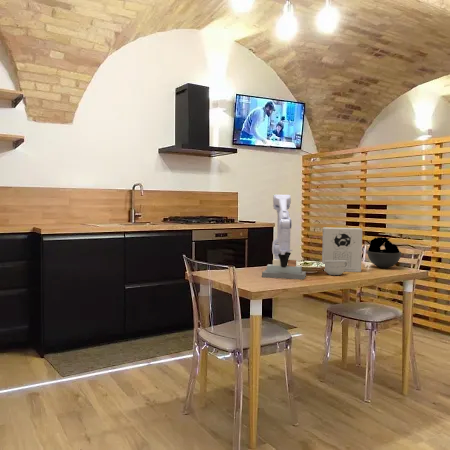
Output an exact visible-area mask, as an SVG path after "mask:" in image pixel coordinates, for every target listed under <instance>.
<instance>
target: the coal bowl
mask: <svg viewBox="0 0 450 450" xmlns="http://www.w3.org/2000/svg"><path fill="white" fill-rule="evenodd" d="M390 239H391V238H390V237H386V236H384V237H383V236H378V237H374V238H373V239H371V240H370V244H369V246H368V249H367V251H366V254H367V256H368V259H369V261H370V262H371V263H372V264H373V265H374V266H376V267H379V268H382V269H385V268H387V269H389V268H391V267H393V266H395V265H397V264H398V262H399V260H400V259H401V257H402V251H400V249H399V248H398V246H397V244H396V243H395V244H394V243H392V241H390ZM382 246H384V249H381V248H382Z"/></svg>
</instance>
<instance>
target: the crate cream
mask: <svg viewBox="0 0 450 450" xmlns="http://www.w3.org/2000/svg"><path fill="white" fill-rule="evenodd" d="M272 264H273V266H281V262H280V259H275V258H274V259H272Z"/></svg>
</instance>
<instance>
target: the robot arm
mask: <svg viewBox="0 0 450 450" xmlns="http://www.w3.org/2000/svg"><path fill="white" fill-rule="evenodd" d="M291 196H292V195H291V194H275V193H274V194H273V197H272V204H273V205H272V207H273V209H274V210H276V213H277V214H276V215H277V217H276V219H277V220H276V221H277V222H276V223H277V224H276V225H277V227H276V228H277V233H276V235H277V237H276V238H275V239H274V240H272V244H271V245H272V247H271V251H272V255H274V259H280V262H281V267H284V268H285V267H286V265H288V260H290V259H289V258H290V256H291V254H292V253H291V252H293V249H291V230H292V226H293V223H292V218H291V217H290V211H289V209H290V208H291V203H292V202H291V201H292V197H291Z"/></svg>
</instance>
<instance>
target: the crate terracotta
mask: <svg viewBox="0 0 450 450" xmlns="http://www.w3.org/2000/svg"><path fill="white" fill-rule="evenodd" d="M287 265H288V266H292V267H296V266H297V260H296V259H288V264H287Z"/></svg>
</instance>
